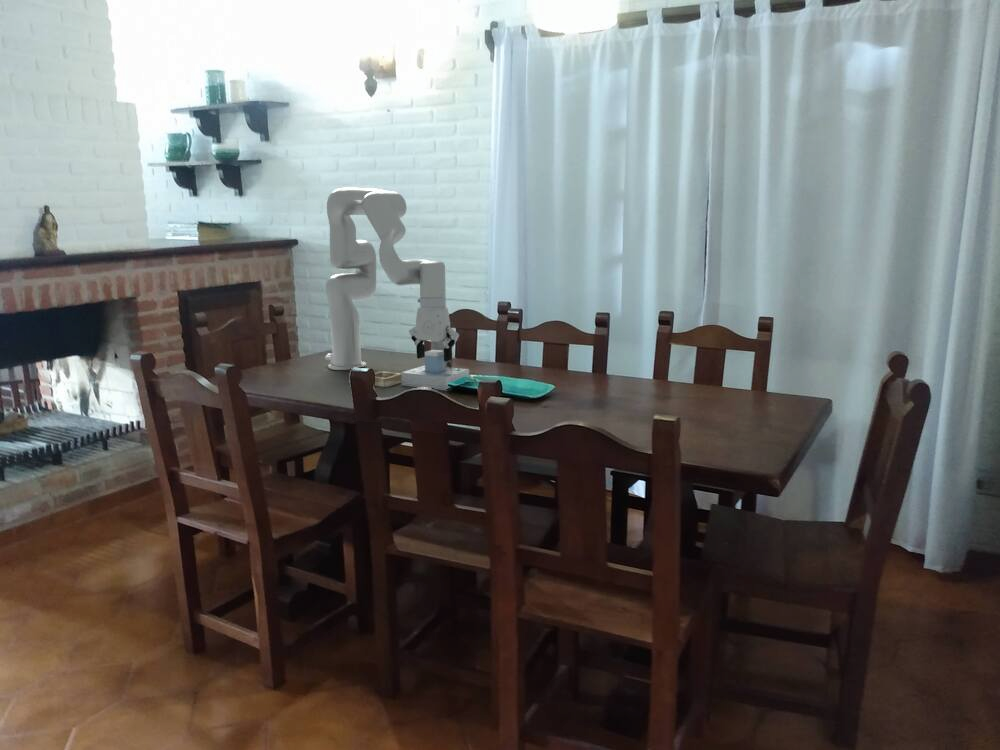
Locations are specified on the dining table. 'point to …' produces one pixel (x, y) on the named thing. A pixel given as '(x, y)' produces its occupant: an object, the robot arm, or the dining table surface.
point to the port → (432, 377)
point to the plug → (434, 361)
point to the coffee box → (441, 347)
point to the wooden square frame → (387, 378)
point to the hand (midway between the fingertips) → (434, 359)
